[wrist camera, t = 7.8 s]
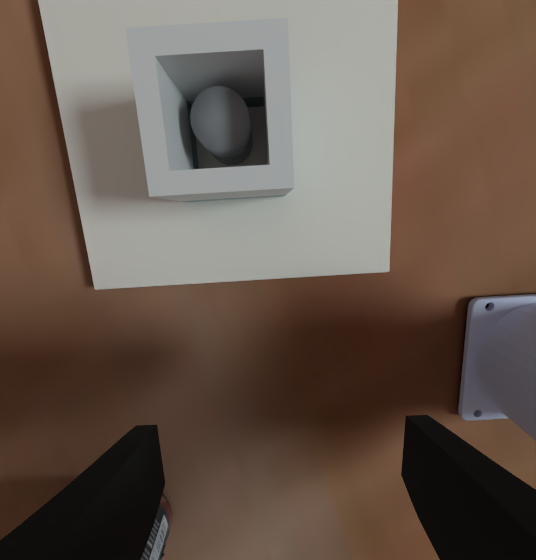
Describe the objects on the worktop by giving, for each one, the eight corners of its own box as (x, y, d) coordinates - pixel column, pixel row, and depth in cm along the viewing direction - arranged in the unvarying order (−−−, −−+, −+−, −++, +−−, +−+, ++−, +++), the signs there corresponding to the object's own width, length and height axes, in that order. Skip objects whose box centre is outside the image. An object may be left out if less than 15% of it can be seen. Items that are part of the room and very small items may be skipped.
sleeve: (279, 86, 14) (287, 17, 9) (284, 196, 15) (294, 187, 10) (174, 93, 14) (125, 27, 9) (186, 202, 15) (149, 196, 10)
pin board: (389, -25, 14) (448, -136, 9) (382, 268, 17) (423, 287, 12) (50, -4, 14) (-50, -104, 9) (104, 285, 17) (48, 310, 13)
